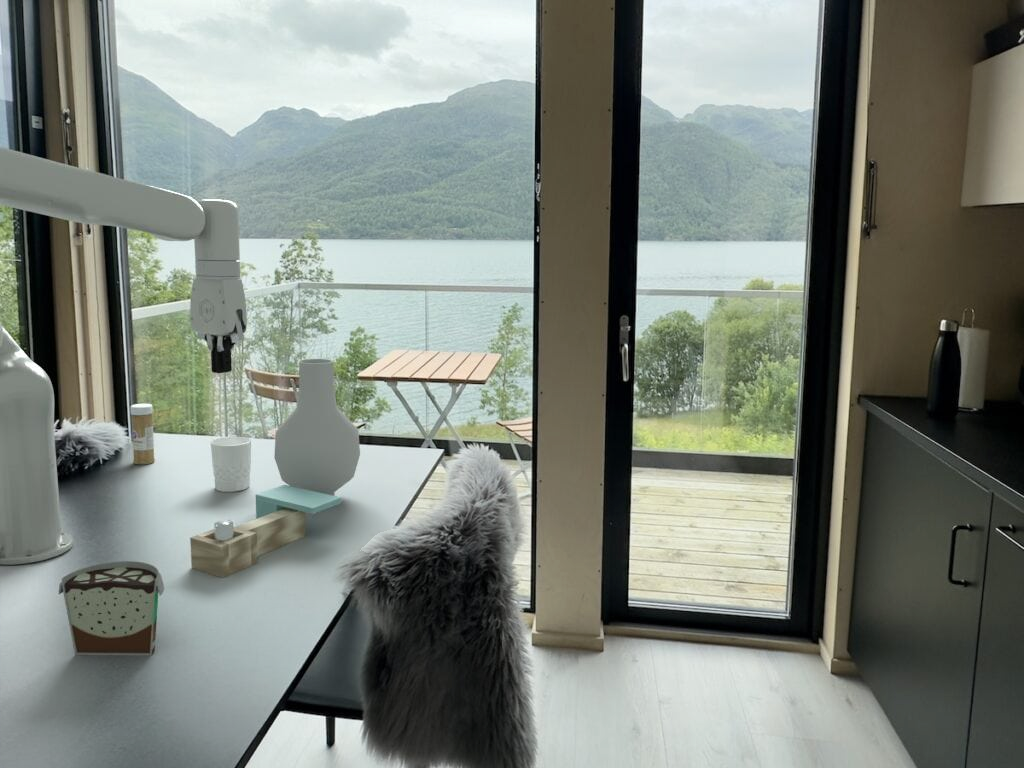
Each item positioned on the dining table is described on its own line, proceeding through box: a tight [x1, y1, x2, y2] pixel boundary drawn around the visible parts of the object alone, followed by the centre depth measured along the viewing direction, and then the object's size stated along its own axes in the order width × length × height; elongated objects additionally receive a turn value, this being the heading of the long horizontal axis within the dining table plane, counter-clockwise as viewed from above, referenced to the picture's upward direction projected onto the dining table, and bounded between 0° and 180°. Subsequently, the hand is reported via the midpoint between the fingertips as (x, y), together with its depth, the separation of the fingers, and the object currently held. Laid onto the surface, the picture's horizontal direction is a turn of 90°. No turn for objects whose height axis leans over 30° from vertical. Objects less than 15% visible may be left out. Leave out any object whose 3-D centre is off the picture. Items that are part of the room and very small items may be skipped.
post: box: [213, 519, 234, 542], centre depth 127 cm, size 3×3×7 cm
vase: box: [274, 358, 361, 496], centre depth 159 cm, size 17×16×28 cm
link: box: [189, 508, 306, 579], centre depth 133 cm, size 20×7×5 cm, turn 151°
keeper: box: [255, 484, 342, 525], centre depth 142 cm, size 7×14×6 cm, turn 61°
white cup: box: [210, 436, 252, 493], centre depth 166 cm, size 8×8×10 cm
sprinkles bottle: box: [129, 403, 156, 466], centre depth 183 cm, size 5×5×14 cm
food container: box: [58, 560, 165, 656], centre depth 102 cm, size 12×6×10 cm, turn 92°
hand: (221, 371), depth 146 cm, fingers closed
